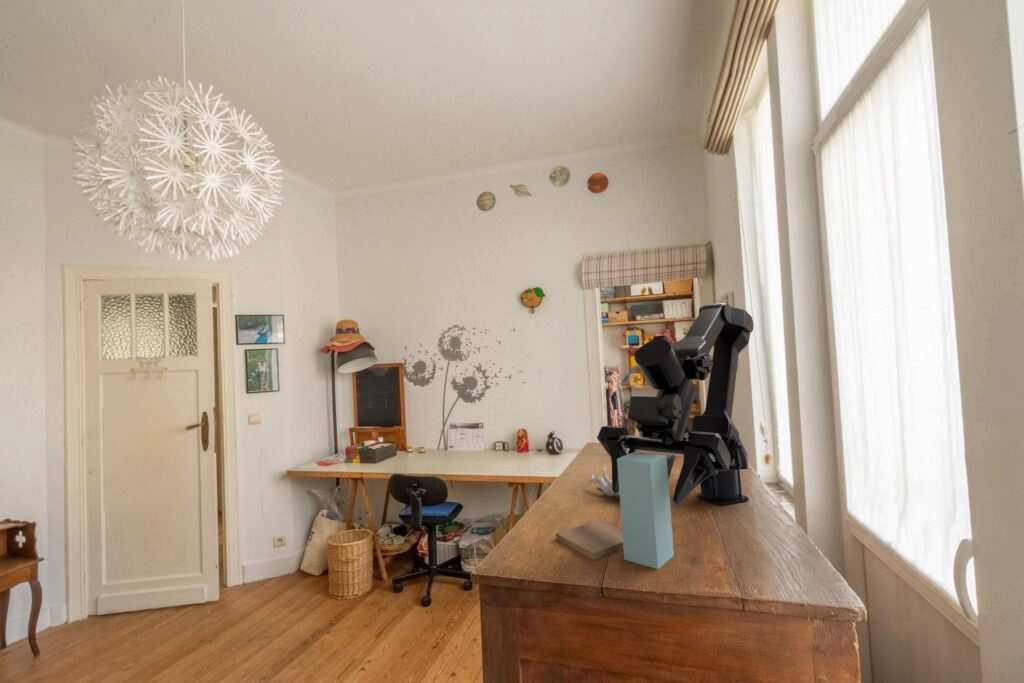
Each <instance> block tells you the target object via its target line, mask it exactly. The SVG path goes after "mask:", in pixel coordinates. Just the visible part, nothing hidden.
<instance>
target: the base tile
mask: <svg viewBox="0 0 1024 683" xmlns="http://www.w3.org/2000/svg"><path fill="white" fill-rule="evenodd" d="M555 539H556V540H557V541H559V542H561V543H562V544H564V545H566V546H567V547H569V548H571V549H572V550H575V551H577V552H578V553H580V554H582V555H584V556H585V557H587V558H588V559H591V560H593V561H595V560H598V559H600V558H603V557H606V556H608V555H610V554H614V553H617V552H619V551H621V550H623V536H622V528H620V527H617V526H615V525H612V524H610V523H608V522H606V521H603V520H601V519H598V520H594V521H592V522H588V523H585V524H581V525H578V526H575V527H572V528H568V529H566V530H563V531H559V532H556V533H555Z"/></svg>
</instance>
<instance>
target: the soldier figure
mask: <svg viewBox="0 0 1024 683" xmlns="http://www.w3.org/2000/svg"><path fill="white" fill-rule="evenodd" d="M601 469H602V475H603V477H601V476H598V477H596V475H595V474H594V473H592V474H591V475H590V479H588V483H589V484H591V483H594V484H595V483H597V484H598V485H596V489H597V490H600V489H601V491H602V492H603V493H604V494H605V495H607V496H608V497H615V496H620V494H619V492H618V493H614V491H613V490H612V479H610V478H609V477H608V474H607V468H606V467H602V468H601Z"/></svg>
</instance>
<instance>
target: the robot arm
mask: <svg viewBox="0 0 1024 683" xmlns="http://www.w3.org/2000/svg"><path fill="white" fill-rule="evenodd" d="M753 331H754V320H753V317H752V316H751V315H750V313H749V312H748V311H747V310H745V309H743V308H738V307H734V306H731V305H730V304H728V303H724V302H718V303H711V304H709V303H708V304H704V305H703V306H700V307H699V310H698V315H697V317H696V318H695V320H694V322H692V324H691V326H690V327H689V329H688V331H686V334H685V336H684V337H683V338H682V339H680V340H677V341H675V342H673V343H670V342H669V340H668V337H667V335H654V336H653V337H652V340H650V341H647V342H646V343H645V344H643V345H642V346H639V349H636V351H635V353H634V356H633V358H634V361H635V362H636V365H637V366H638V368H639V369H640V371H641V373H642V375H643V377H644V378H645V380H646V382H647V383H648V385H649V387H650V388H652V389H654V390H657V391H656V394H655V396H648V395H647V396H642V395H641V396H640V395H639V396H638V395H636V396H635V395H633V396H630V397H629V403H628V410H627V419H629V420H633V421H634V422H636V424H635V428H636V430H637V431H638V433H639V432H640V433H642V434H641V436H639V435H631V434H630V433H629V431H628V430H627V428H626V427H625V426H617V425H603V426H601V427H600V428H599V431H598V434H597V436H596V439H597V440H598V442H599V443H600V445H601V446H602V447H603V449H604V450H605V451H606V452H607V454H608V456H610V460H611V481H612V490H613V491H614V493H618V492H619V480H618V466H617V459H618V458H621V457H623V456H625V455H628V454H630V453H633V452H637V451H638V450H639V451H645V452H646V451H647V452H656V453H662V454H669V455H670V454H672V455H678V456H679V455H680V456H683V463H682V466H681V469H680V473H679V475H678V477H677V478H678V479H677V482H676V485H675V488H674V492H673V497H672V501H673V504H675V505H680V503H682V502H683V500H685V499H686V497H688V495H690V493H691V492H693V490H695V489H696V488H697V487H698V486H699V485H700V492H697V497H700V498H701V499H705V500H708V501H710V502H712V503H714V504H717V505H719V506H725V505H729V504H731V505H732V504H735V503H740V502H746V501H749V497H748V496H746V495H743V493H742V481H741V471H742V470H748V469H749V464H748V463H749V460H748V452H747V450H746V449H745V447H744V444H743V443H742V440H741V439H740V433H739V430H738V428H737V427H736V425H735V424H734V422H733V419H732V417H733V416H732V415H733V407H734V399H735V390H736V382H737V371H738V364H739V363H738V362H739V354H740V353H741V352H742V350H744V349H745V348H746V347H747V346H748V344H749V342H750V337H751V333H753ZM712 348H713V352H712V356H711V354H710V352H711V349H712ZM708 376H709V380H708V388H707V392H706V393H707V395H706V401H705V407H704V408H705V409H704V412H702V413H701V414H700V415H697V414H695V415H694V417H693V418H692V425H691V424H690V421H689V419H690V414H691V411H692V408H693V405H696V404H699V398H698V394H697V390H698V389H697V387H696V385H695V383H694V381H705V380H706V379H707V378H708ZM691 426H692V428H691ZM690 429H691V431H690ZM686 432H689V434H688V437H687V440H684V437H685V433H686ZM636 450H637V451H636Z"/></svg>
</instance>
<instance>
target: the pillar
mask: <svg viewBox="0 0 1024 683" xmlns="http://www.w3.org/2000/svg"><path fill="white" fill-rule="evenodd" d="M667 457H668V456H667V455H666V454H657V453H647V452H639V451H635V452H633V453H630V454H628V455H625V456H623V457H621V458H618V459H617V466H618V480H619V494H620V495H619V505H620V507H619V508H620V515H621V516H620V517H621V519H620V521H621V529H622V536H623V549H622V550H623V559H624V560H625V561H628V562H632V563H635V564H639V565H642V566H645V567H648V568H651V569H655V570H659V569H661V568H663V566H664V565H665V564H666V563H667V562H668V561H670V560H671V559H672V558H673V557H674V556H675V551H674V540H673V539H674V538H673V537H674V536H673V526H672V525H673V524H672V512H671V498H670V488H669V487H670V485H669V480H668V469H667Z"/></svg>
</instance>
